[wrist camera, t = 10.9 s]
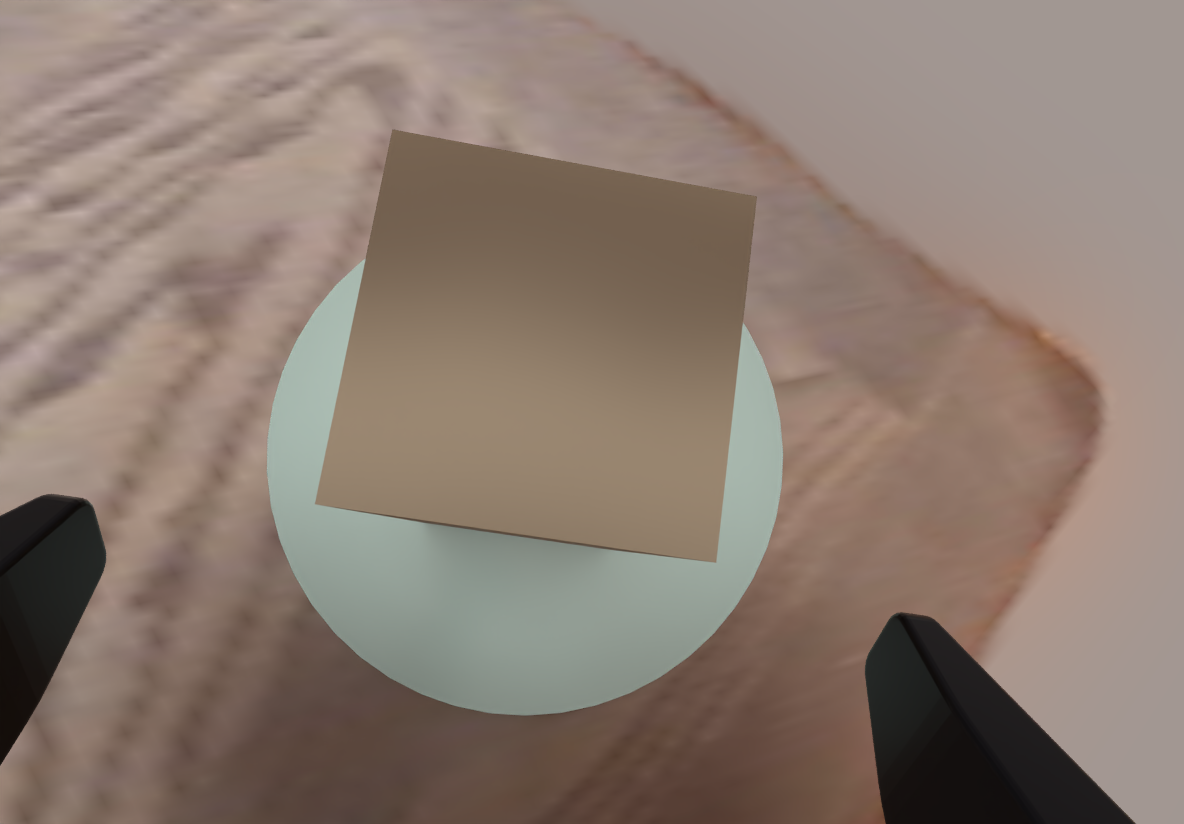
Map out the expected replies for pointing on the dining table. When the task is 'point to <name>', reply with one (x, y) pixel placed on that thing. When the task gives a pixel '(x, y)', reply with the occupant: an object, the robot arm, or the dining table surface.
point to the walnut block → (543, 351)
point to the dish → (506, 562)
